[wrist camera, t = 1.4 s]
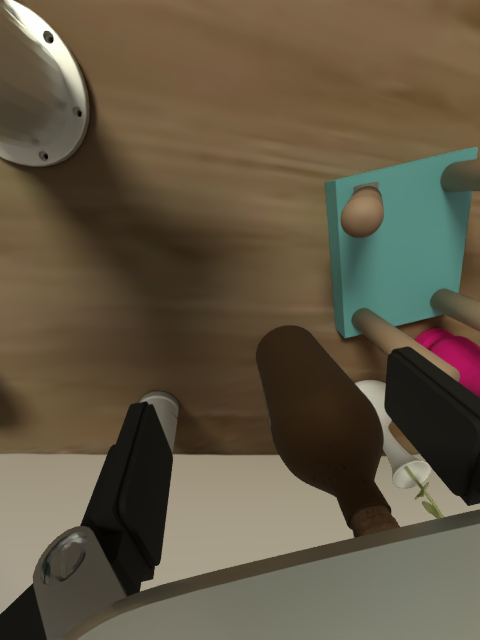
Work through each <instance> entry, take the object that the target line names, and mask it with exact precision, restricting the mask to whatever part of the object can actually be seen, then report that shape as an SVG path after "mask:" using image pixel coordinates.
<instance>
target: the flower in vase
mask: <svg viewBox="0 0 480 640" xmlns="http://www.w3.org/2000/svg"><path fill="white" fill-rule="evenodd" d="M355 384H356V385H357V387H358V388H359V389H360V390H361V391H362V392H363V393H364V394H365V395H366V396H367V398H368V399H369V400H370V401H371V403H372V404H373V406H374V408H375V409H376V412H377V414H378V416H379V419H380V422H381V425H382V429H383V435H384V444H383V450H384V452H385V454H386V456H387V457H388V459H389V462H390V464H391V467H392V473H393V475H392V481H393V484H394V485H395V486H396V487H398V488H411V487H415V486H417V485H418V486H419V487H420V488H421V491H420V493H419V494H418V495H417V496H416V498H415V499H417V498H419V497H422V496H424V494H425V495H426V496H427V498H428V499H429V500H430V502H431V503H432V505H431V504H429V503H427V502H424V501H423V502H422V504H423V506H424V507H425V509H426V510H427V511H428V512H429V513H431V514H432V515H434V516H435V517H436V518H437V519H439V518H444V516H443V515H442V514H441V512H440V510H439V509H438V508H437V506H436V504H435V503H434V501H433V500H432V499H431V497H430V496H429V495H428V493H427V492H426V488H427V487H428V484H429V482H428V483H427V484H426V485H425V486H424V487H423V486H422V485H421V483H422V482H424V481H425V480H426V479H427V478H428V476H429V475H430V472H431V467H430V465H429V464H428V463H427V462H425V461H422V460H419V459H417V458H415V457H413V456H412V455H410V454H409V453H408V452H407V451H406V450H404V449H403V447H402V446H401V445H400V444H399V443H398V442H397V441H396V440H395V439H394V437H393V436H392V434H391V433H390V431H389V429H388V426H389V424H390V423H391V421H392V420H391V418H390V417H389V416H388V415H387V413H386V411H385V408H384V400H385V387H386V383H384V382H381V381H376V380H363V381H359V382H356V383H355Z"/></svg>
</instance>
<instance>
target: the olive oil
mask: <svg viewBox="0 0 480 640" xmlns="http://www.w3.org/2000/svg"><path fill="white" fill-rule="evenodd" d="M256 361H257V365H258V369H259V373H260V378H261V382H262V387H263V392H264V396H265V401H266V406H267V411H268V416H269V421H270V426H271V431H272V436H273V441H274V444H275V446H276V449H277V451H278V453H279V455H280V457H281V459H282V460H283V462H284V463H285V465H286V466H287V467H288V469H289V470H290V471H291V472H292V473H293V474H294V475H295V476H296V477H298V478H299V479H300V480H302V481H303V482H305V483H307V484H310V485H311V486H314V487H316V488H318V489H320V490H323V491H325V492H327V493H330V494H332V495H334V496H335V497H337V500H338V502H339V505H340V508H341V511H342V512H343V515H344V518H345V520H346V523H347V525H348V527H349V528H350V529H352V530H353V534H354V538H356V537H361V536H365V535H369V534H373V533H378V532H382V531H386V530H391V529H395V528H399V527H400V526H399V525H398V523H397V521H396V520H395V518H394V517H392V515H391V508H390V506H389V505H388V503H387V501H386V500H385V498H384V497H383V495H382V493H381V491H380V490H379V488H378V487H377V485H376V484H375V482H374V479H375V474H376V471H377V468H378V464H379V461H380V458H381V454H382V450H383V444H384V435H383V429H382V425H381V422H380V419H379V416H378V414H377V412H376V409H375V408H374V406H373V404H372V403H371V401H370V400H369V399H368V398H367V396H366V395H365V394H364V393H363V392H362V391H361V390H360V389H359V388H358V387H357V385H356V384H355V383H354V382H353V381H352V380H351V379H350V378H349V377H348V376H347V375H346V373H345V372H344V371H343V370H342V369H341V368H340V367H339V366H338V364H337V363H336V362H335V361H334V360H333V359H332V358H331V357H330V356H329V354H328V353H327V352H326V351H325V350H324V349H323V347H322V346H321V345H320V344H319V343H318V341H317V340H316V339H315V338H314V337H313V336H312V334H311V333H310V332H308V331H307V330H305V329H304V328H301V327H298V326H282V327H279V328H276V329H274V330H272V331H271V332H269V333H268V334H267V335H266V336H265V337H264V338H263V339H262V340H261V342H260V343H259V345H258V348H257V352H256Z"/></svg>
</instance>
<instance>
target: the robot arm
mask: <svg viewBox="0 0 480 640" xmlns="http://www.w3.org/2000/svg"><path fill="white" fill-rule="evenodd" d="M52 39H54V41H53V43H52V44H51V40H52ZM79 112H82V115H81V117H79ZM89 114H90V104H89V96H88V90H87V87H86V83H85V79H84V76H83V74H82V72H81V69H80V67H79V65H78V62H77V60H76V59H75V57H74V55H73V54H72V52H71V51H70V49H69V47H68V46H67V45H66V43H65V42H64V41H63V40H62V38H61V37H60V36H59V35H58V34H57V32H56V31H55V30H54V29H53V28H52V27H51V26H50V25H49V24H48V23H47V22H46V21H45V20H44V19H43V18H41V17H40V16H39V15H37V14H36V13H35V12H34V11H32V10H31V9H30V8H28V7H26V6H24V5H22V4H21V3H19V2H17V1H15V0H0V157H1V158H3V159H5V160H8V161H11V162H14V163H17V164H20V165H26V166H33V167H46V166H51V165H56V164H58V163H60V162H63V161H65V160H66V159H68V158H69V157H70V156H71V155H73V154H74V153H75V152H76V150H77V149H78V148H79V147H80V145H81V144H82V142H83V139H84V137H85V135H86V132H87V128H88V124H89ZM47 154H48V159H47V158H46V155H47ZM384 408H385V411H386V413H387V415H388V416H389V417H390V418H391V420H392V421H393V422H394V423H395V424H396V426H397V427H398V428H399V429H400V430H401V432H402V433H403V434H404V435H405V436H406V438H407V439H408V440H409V441H410V442H411V444H412V445H413V446H414V447H415V448H416V450H417V451H418V452H419V453H420V454H421V456H422V457H423V458H424V459H425V460H426V462H427V463H428V464H429V465H430V466H431V468H432V469H433V470H434V471H435V472H436V474H437V475H438V476H439V477H440V478H441V480H442V481H443V482H444V483H445V484H446V486H447V487H448V488H449V489H450V490H451V491H452V493H454V494H455V495H457V496H460V497H461V498H462V499H463V500H464V502H465V503H466V504H467V505H468V506H470V505H474V504H479V503H480V398H479V397H478V396H476V395H475V394H474V393H472V392H471V391H470V390H468V389H467V388H466V387H464V386H463V385H462V384H460V383H459V382H457V381H456V380H455V379H453V378H452V377H451V376H449V375H448V374H447V373H445V372H444V371H443V370H441V369H440V368H438V367H437V366H436V365H434V364H433V363H432V362H430V361H429V360H428V359H426V358H425V357H424V356H422V355H421V354H419V353H418V352H417V351H415V350H414V349H413V348H411V347H409V346H406V347H402V348H397V349H393V350H392V351H391V354H389V355H388V361H387V374H386V387H385V400H384ZM172 464H173V455H172V451H171V448H170V446H169V443H168V441H167V438H166V436H165V433H164V431H163V428H162V426H161V423H160V420H159V418H158V415H157V413H156V410H155V408H154V406H153V404H148V402H147V401H144V402H140V403H135V404H131V405H130V407H129V409H128V412H127V415H126V417H125V420H124V423H123V426H122V429H121V431H120V434H119V437H118V440H117V442H116V444H115V445H112V446H111V448H110V450H109V451H108V454H107V457H106V460H105V462H104V465H103V467H102V470H101V473H100V475H99V478H98V481H97V483H96V486H95V488H94V491H93V494H92V496H91V499H90V502H89V504H88V507H87V510H86V512H85V515H84V518H83V520H82V523H81V525H80V526H78V527H74V528H72V529H69V530H67V531H66V532H64V533H63V534H61V535H60V536H58V537H57V538H56V539H55V540H54V541H53V542H52V543H51V544H50V545H49V546H48V547H47V549H46V550H45V551H44V553H43V554H42V555H41V557H40V559H39V561H38V563H37V565H36V567H35V571H34V574H33V584H32V585H31V586H30V587H29V588H27V589H26V590H25V591H24V592H23V593H22V594H21V595H20V596H19V597H18V598H17V599H16V600H15V601H14V602H13V603H12V604H11V605H10V606H9V607H8V608H7V609H6V610H5V611H3V612H2V613H1V614H0V640H480V510H475V511H470V512H466V513H462V514H457V515H452V516H448V517H444V518H439V519H435V520H430V521H426V522H422V523H417V524H413V525H408V526H404V527H399V528H395V529H391V530H386V531H382V532H378V533H373V534H369V535H365V536H361V537H356V538H352V539H348V540H343V541H339V542H335V543H330V544H326V545H322V546H318V547H313V548H309V549H305V550H301V551H296V552H292V553H288V554H284V555H280V556H276V557H271V558H267V559H263V560H259V561H254V562H250V563H246V564H242V565H238V566H234V567H230V568H225V569H222V570H217V571H213V572H209V573H206V574H202V575H198V576H194V577H190V578H186V579H182V580H178V581H175V582H171V583H167V584H163V585H160V586H157V587H154V588H150V589H148V590H144V591H141V592H140V586H141V582H143V581H147V580H151V579H153V576H154V569H155V566H157V565H159V563H160V560H161V554H162V545H163V537H164V529H165V521H166V513H167V505H168V497H169V488H170V480H171V472H172Z"/></svg>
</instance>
